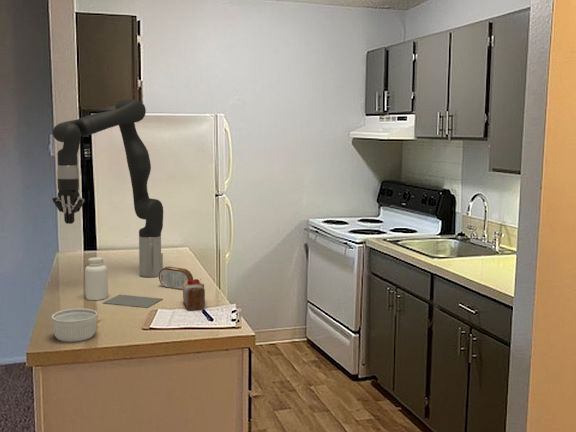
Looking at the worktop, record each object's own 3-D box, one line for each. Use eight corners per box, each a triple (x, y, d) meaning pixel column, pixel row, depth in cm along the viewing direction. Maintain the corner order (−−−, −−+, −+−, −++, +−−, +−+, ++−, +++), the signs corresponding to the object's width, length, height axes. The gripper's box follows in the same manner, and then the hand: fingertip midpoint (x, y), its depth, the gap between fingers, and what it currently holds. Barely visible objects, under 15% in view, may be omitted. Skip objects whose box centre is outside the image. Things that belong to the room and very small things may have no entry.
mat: (102, 303, 228) (102, 302, 228) (119, 295, 240) (119, 294, 240) (147, 308, 224) (147, 307, 224) (162, 299, 235) (162, 298, 235)
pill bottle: (88, 295, 239) (87, 256, 237) (109, 295, 240) (109, 256, 238) (83, 300, 231) (82, 260, 229) (105, 300, 232) (104, 260, 230)
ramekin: (71, 346, 184) (71, 323, 183) (42, 338, 190) (41, 315, 190) (107, 334, 195) (106, 312, 194) (78, 327, 202) (77, 305, 201)
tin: (193, 289, 250) (193, 269, 249) (189, 291, 247) (189, 270, 246) (162, 285, 256) (162, 265, 255) (157, 287, 254) (157, 266, 252)
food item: (180, 301, 233) (180, 275, 232) (202, 300, 236) (202, 274, 234) (185, 311, 221) (185, 284, 219) (208, 310, 223) (208, 283, 221)
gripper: (89, 177, 238) (90, 223, 240) (58, 176, 241) (60, 221, 243) (78, 178, 230) (79, 225, 233) (46, 177, 234) (47, 223, 236)
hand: (69, 223), depth 238 cm, fingers closed
